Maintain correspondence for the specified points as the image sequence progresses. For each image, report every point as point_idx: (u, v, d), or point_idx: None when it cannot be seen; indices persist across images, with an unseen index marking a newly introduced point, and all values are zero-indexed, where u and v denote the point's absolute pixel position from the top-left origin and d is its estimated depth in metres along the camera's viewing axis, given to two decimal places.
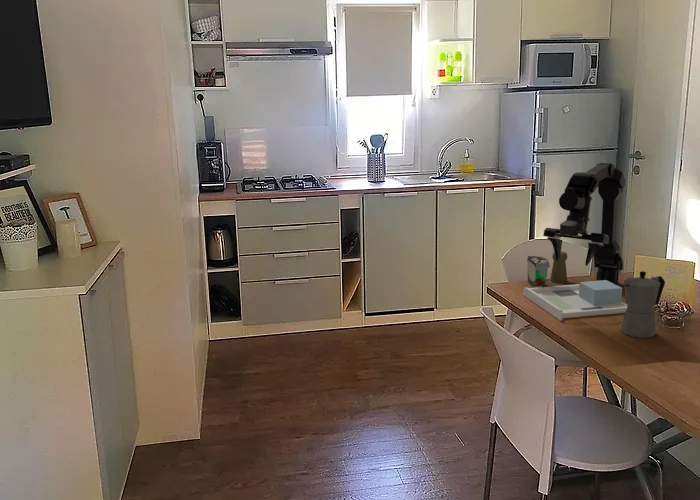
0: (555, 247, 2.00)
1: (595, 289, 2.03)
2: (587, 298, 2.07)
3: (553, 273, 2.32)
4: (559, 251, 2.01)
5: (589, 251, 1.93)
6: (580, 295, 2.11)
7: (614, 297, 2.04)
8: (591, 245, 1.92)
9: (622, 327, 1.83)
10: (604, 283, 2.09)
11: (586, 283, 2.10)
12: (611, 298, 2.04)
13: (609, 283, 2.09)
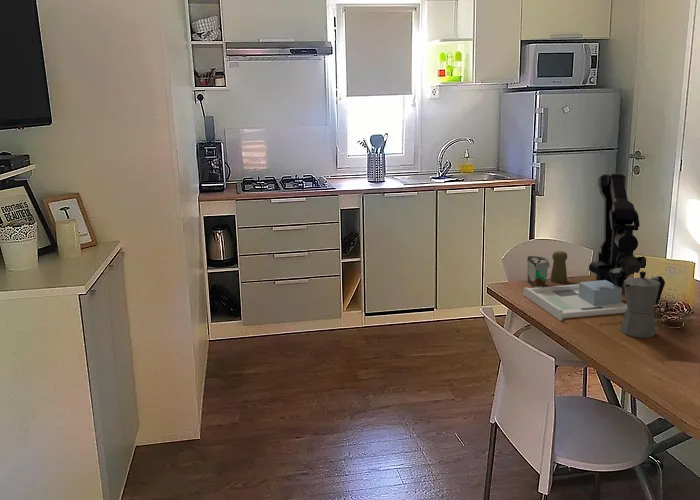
0: (618, 280, 2.07)
1: (595, 289, 2.03)
2: (587, 298, 2.07)
3: (553, 273, 2.32)
4: None
5: (623, 279, 2.07)
6: (579, 295, 2.11)
7: (614, 297, 2.04)
8: (628, 274, 2.06)
9: (622, 327, 1.83)
10: (604, 283, 2.09)
11: (586, 283, 2.10)
12: (611, 298, 2.04)
13: (609, 283, 2.09)
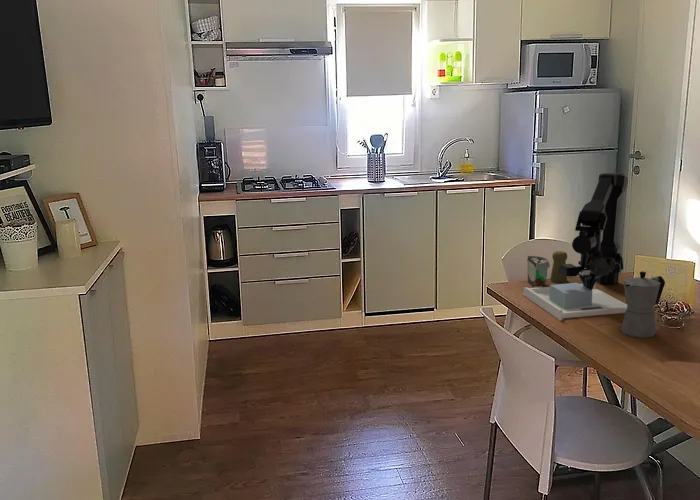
0: (588, 282, 2.05)
1: (565, 292, 2.01)
2: (557, 301, 2.05)
3: (553, 273, 2.32)
4: None
5: (593, 281, 2.05)
6: (550, 298, 2.09)
7: (584, 300, 2.02)
8: (597, 277, 2.04)
9: (622, 327, 1.83)
10: (575, 286, 2.07)
11: (556, 286, 2.08)
12: (582, 301, 2.02)
13: (579, 286, 2.07)
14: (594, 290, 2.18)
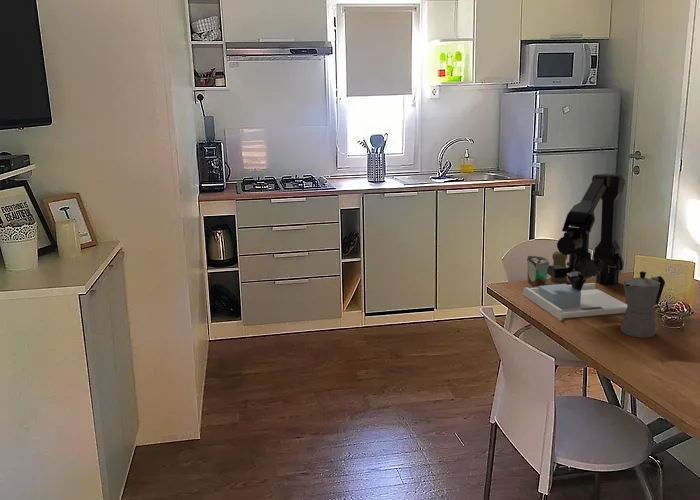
0: (576, 283, 2.05)
1: (554, 293, 2.01)
2: None
3: None
4: None
5: (582, 283, 2.05)
6: None
7: (573, 301, 2.01)
8: (586, 278, 2.03)
9: (622, 327, 1.83)
10: (563, 287, 2.07)
11: (545, 287, 2.07)
12: (570, 302, 2.01)
13: (568, 287, 2.06)
14: (594, 290, 2.18)
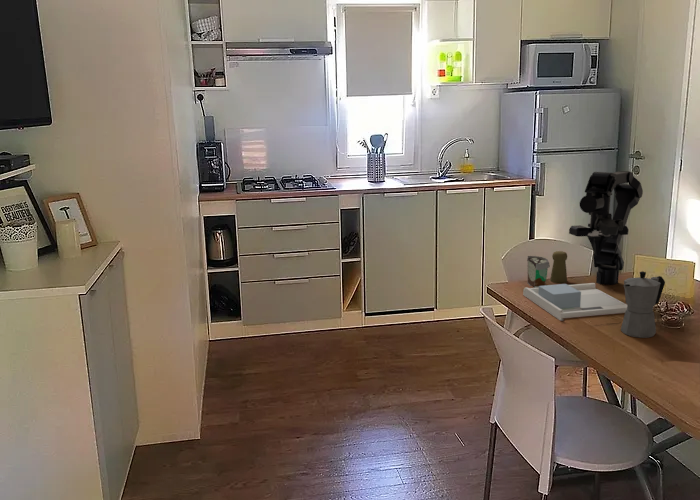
0: (597, 243, 2.14)
1: (554, 293, 2.01)
2: None
3: (553, 273, 2.32)
4: None
5: (602, 243, 2.14)
6: None
7: (573, 301, 2.01)
8: (606, 238, 2.13)
9: (622, 327, 1.83)
10: (563, 287, 2.07)
11: (545, 287, 2.07)
12: (570, 302, 2.01)
13: (568, 287, 2.06)
14: (594, 290, 2.18)
